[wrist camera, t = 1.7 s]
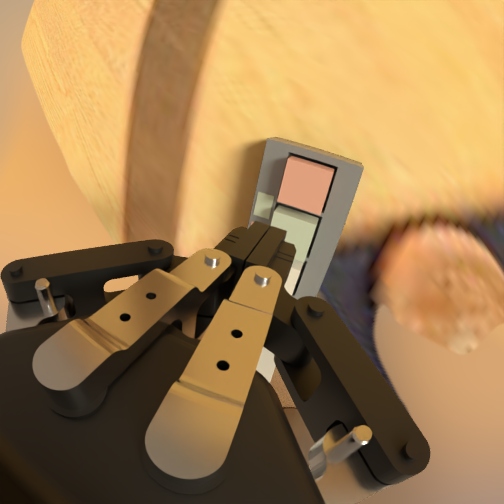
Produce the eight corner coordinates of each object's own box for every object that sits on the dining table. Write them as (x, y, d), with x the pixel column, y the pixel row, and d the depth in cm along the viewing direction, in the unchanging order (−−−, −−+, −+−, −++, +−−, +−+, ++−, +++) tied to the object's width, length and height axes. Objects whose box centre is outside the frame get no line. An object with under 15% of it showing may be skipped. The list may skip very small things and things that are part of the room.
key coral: (322, 208, 25) (320, 215, 24) (281, 195, 26) (277, 201, 24) (334, 168, 23) (333, 172, 22) (292, 156, 24) (287, 158, 22)
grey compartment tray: (315, 291, 33) (311, 308, 30) (246, 266, 35) (236, 280, 32) (361, 163, 25) (363, 168, 22) (275, 136, 27) (266, 138, 24)
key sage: (307, 253, 28) (303, 262, 26) (269, 240, 29) (264, 249, 27) (318, 218, 26) (316, 225, 24) (279, 205, 27) (274, 211, 25)
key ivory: (293, 291, 30) (289, 301, 29) (259, 279, 31) (253, 289, 29) (303, 261, 28) (300, 271, 27) (267, 248, 29) (261, 257, 27)
